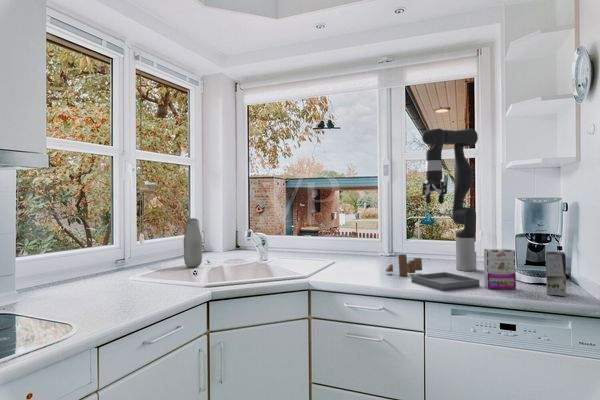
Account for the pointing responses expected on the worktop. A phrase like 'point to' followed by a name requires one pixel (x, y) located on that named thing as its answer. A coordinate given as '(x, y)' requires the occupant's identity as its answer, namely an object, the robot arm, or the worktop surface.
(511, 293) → the worktop surface
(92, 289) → the worktop surface
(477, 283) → the tray
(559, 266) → the coffee box
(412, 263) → the wooden block set
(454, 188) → the robot arm
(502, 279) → the candy bar box
